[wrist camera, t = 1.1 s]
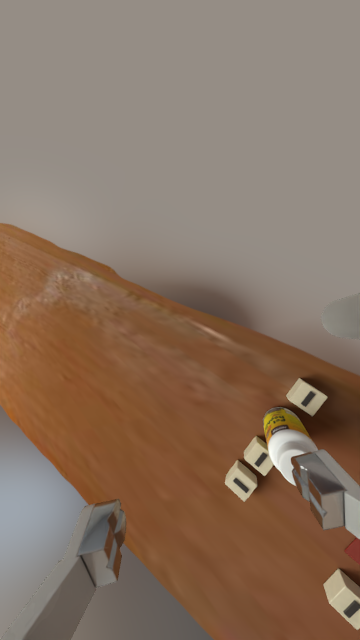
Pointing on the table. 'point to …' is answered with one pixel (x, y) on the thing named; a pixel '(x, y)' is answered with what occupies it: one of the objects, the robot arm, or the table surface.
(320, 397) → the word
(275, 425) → the supplement bottle
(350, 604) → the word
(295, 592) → the table surface
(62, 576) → the robot arm
